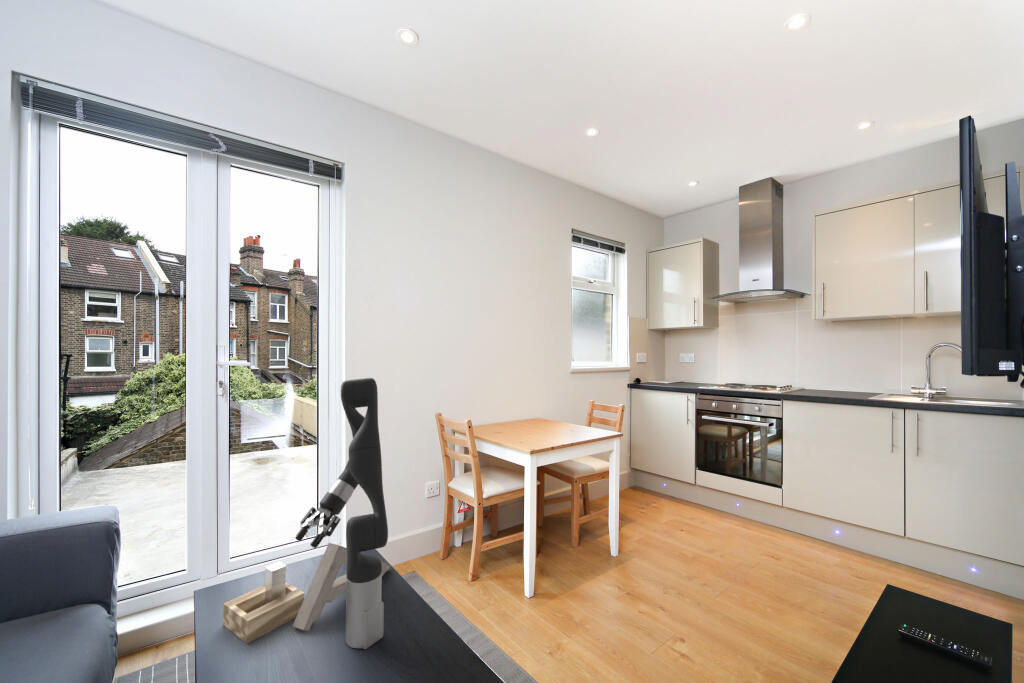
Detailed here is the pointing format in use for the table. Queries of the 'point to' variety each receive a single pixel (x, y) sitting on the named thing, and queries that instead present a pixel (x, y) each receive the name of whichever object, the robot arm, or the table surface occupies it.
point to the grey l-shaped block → (275, 582)
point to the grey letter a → (325, 586)
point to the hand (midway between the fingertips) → (305, 543)
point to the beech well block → (260, 612)
